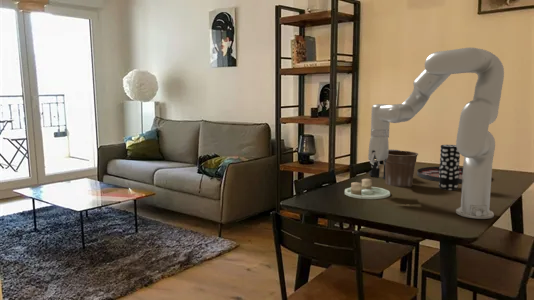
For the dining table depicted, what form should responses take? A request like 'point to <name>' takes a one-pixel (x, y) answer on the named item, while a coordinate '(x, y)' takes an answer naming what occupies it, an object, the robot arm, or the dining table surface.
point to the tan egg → (356, 188)
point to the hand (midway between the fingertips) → (378, 175)
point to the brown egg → (381, 170)
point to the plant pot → (400, 168)
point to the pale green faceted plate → (369, 193)
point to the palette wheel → (435, 173)
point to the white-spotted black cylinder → (449, 167)
